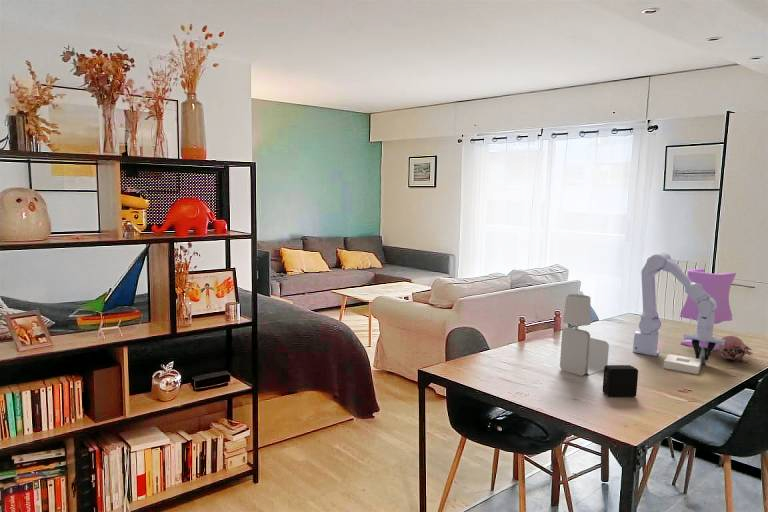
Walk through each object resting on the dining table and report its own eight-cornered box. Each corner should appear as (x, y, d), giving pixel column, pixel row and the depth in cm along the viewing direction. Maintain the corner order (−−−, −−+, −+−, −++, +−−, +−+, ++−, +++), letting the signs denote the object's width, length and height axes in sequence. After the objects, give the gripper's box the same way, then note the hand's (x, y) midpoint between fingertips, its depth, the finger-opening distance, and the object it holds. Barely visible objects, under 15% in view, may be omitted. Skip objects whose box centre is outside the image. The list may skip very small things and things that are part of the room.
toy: (760, 365, 219) (750, 353, 233) (753, 340, 219) (744, 330, 233) (727, 370, 224) (719, 358, 238) (720, 345, 224) (713, 335, 237)
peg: (697, 363, 224) (698, 347, 223) (697, 362, 226) (699, 345, 225) (705, 365, 222) (707, 348, 221) (706, 363, 224) (707, 347, 223)
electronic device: (602, 393, 188) (604, 365, 187) (629, 392, 189) (631, 365, 187) (608, 397, 184) (610, 369, 182) (636, 397, 184) (638, 368, 183)
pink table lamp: (729, 347, 251) (736, 272, 247) (712, 352, 242) (720, 274, 238) (694, 339, 264) (700, 268, 260) (677, 343, 255) (684, 270, 251)
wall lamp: (607, 368, 216) (612, 293, 212) (579, 379, 202) (584, 299, 198) (582, 361, 223) (587, 289, 220) (554, 371, 210) (558, 295, 206)
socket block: (663, 367, 218) (664, 360, 217) (667, 360, 227) (668, 353, 227) (698, 374, 211) (698, 366, 210) (700, 366, 221) (701, 359, 220)
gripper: (684, 325, 223) (681, 357, 224) (725, 331, 215) (722, 364, 216) (685, 322, 229) (683, 354, 230) (726, 328, 221) (723, 360, 222)
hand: (702, 359), depth 224 cm, fingers closed on peg, 3 cm apart
